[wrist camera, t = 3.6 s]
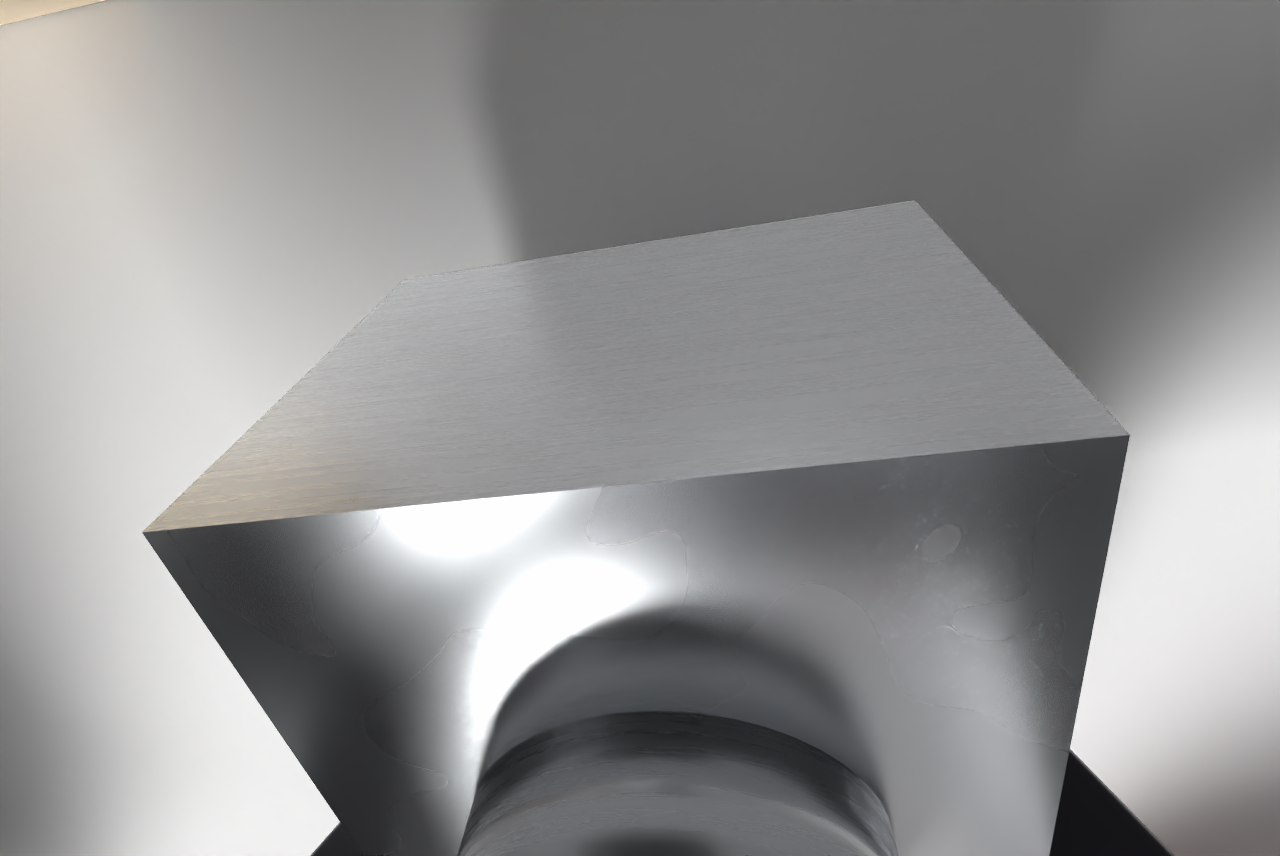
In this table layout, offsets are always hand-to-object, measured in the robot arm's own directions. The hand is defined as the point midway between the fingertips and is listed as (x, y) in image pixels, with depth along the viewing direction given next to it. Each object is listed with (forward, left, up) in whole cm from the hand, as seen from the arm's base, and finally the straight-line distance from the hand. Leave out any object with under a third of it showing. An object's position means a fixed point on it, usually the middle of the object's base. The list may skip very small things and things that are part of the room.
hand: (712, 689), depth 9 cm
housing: (0, 0, -1) cm, 1 cm away
